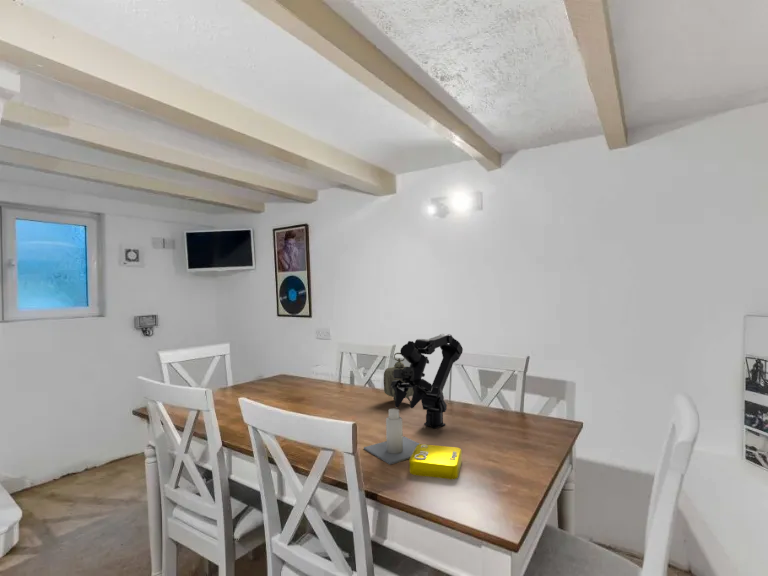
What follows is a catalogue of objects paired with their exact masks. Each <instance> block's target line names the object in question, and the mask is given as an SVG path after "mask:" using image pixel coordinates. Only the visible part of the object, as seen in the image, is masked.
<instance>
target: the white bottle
mask: <svg viewBox="0 0 768 576" xmlns="http://www.w3.org/2000/svg"><path fill="white" fill-rule="evenodd" d="M385 431H386V434H385V435H386V436H385V438H386V441H387V452H388V453H391V454H398V453H401V452H403V417H402V416H400V409H399V408H396V407H395V408H389V409H388V416H387V417H386V418H385Z"/></svg>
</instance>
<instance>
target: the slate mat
mask: <svg viewBox="0 0 768 576" xmlns="http://www.w3.org/2000/svg"><path fill="white" fill-rule="evenodd" d="M419 444H420V442H417V441H415V440H413V439H410V438H409V437H406V436H403V452H401V453H398V454H391V453H388V452H387V440H385V441H382V442H379V443H378V442H377V443H375V444H370V445H367V446H364V447H363V450H365V451H366V452H368V453H369V454H371V455H373V456H375V457H376V458H377V459H379V460H381V461H383V462H384V463H387V464H388V465H389V466H390V465H393V464H394V465H395V464H397V463H400V462H404V461H406V460H409V459H410V457H411V455H412V453H413V452H414V450H415V448H416V446H417V445H419Z"/></svg>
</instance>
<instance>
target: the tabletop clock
mask: <svg viewBox="0 0 768 576" xmlns="http://www.w3.org/2000/svg"><path fill="white" fill-rule="evenodd" d="M396 355H401V353H400V352H396V353H394V354H393V359H394V360H395V361H397V362H395V363H394V364H393V366H391V367H387V368H385V370H384V371H383V372H384V373H383V389H384V394H386V395H387V396H390V397H392V398H393V400H394V401H395V391H394V389H392V387H391V383H392V381H394V380H400V381H402V380H401V378H393V376H394V370H395V369H404V367H408V366H407V365H405V363H403V362H404V361H405V360H406V359H405V358H404V357H403V359H401V358H398V359H397V358H396ZM402 382H404V381H402ZM404 383H405V382H404ZM406 393H407V394H406V396H405V398H404V399H408V401H409V404H410V405H411V399H410V397H412V396H413V388H408V391H407V392H406Z"/></svg>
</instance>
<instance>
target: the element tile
mask: <svg viewBox="0 0 768 576" xmlns="http://www.w3.org/2000/svg"><path fill="white" fill-rule="evenodd" d="M462 455H463V451H462V449H461V448H460V447H457V446H446V445H445V446H444V445H436V444H435V445H434V444H424V443H419V445H417V446H416V448H415V450H414V452H413V453H412V455H411V457H410V459H408V466H409V472H408V473H409V474H410V475H413V476H419V477H429V478H435V479H436V478H438V479H445V480H457V479H458V478H459V476H460V472H461V466H462V462H463V458H462V457H463V456H462Z"/></svg>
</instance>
